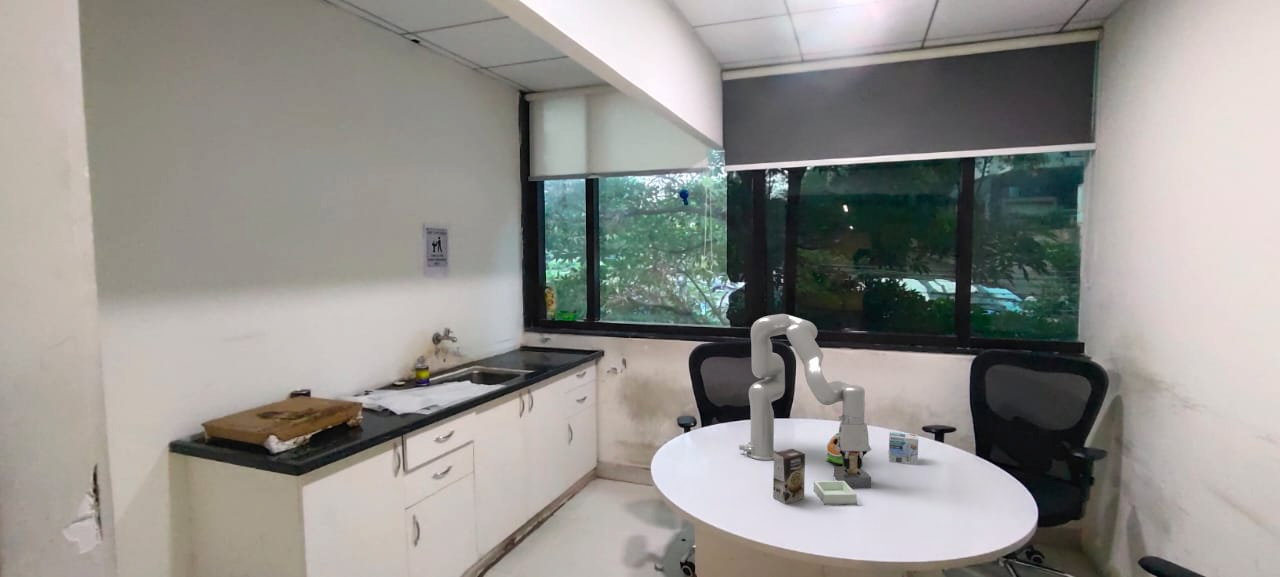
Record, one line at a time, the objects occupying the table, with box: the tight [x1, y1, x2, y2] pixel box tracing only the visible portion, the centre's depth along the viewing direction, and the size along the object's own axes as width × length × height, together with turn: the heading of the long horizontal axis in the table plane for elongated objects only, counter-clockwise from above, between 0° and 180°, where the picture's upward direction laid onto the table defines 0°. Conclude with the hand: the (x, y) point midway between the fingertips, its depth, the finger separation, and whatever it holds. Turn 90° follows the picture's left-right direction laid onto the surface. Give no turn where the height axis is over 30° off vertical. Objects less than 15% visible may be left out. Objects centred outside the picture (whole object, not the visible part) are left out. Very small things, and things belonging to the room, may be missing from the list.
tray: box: [813, 480, 858, 506], centre depth 191 cm, size 11×11×4 cm
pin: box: [847, 451, 859, 475], centre depth 202 cm, size 4×4×12 cm
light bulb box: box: [888, 431, 919, 466], centre depth 223 cm, size 11×7×11 cm, turn 68°
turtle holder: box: [826, 432, 844, 467], centre depth 222 cm, size 12×18×12 cm
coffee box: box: [772, 448, 806, 505], centre depth 190 cm, size 9×6×16 cm
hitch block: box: [833, 466, 872, 489], centre depth 203 cm, size 10×10×4 cm
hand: (852, 467), depth 202 cm, fingers closed on pin, 3 cm apart
